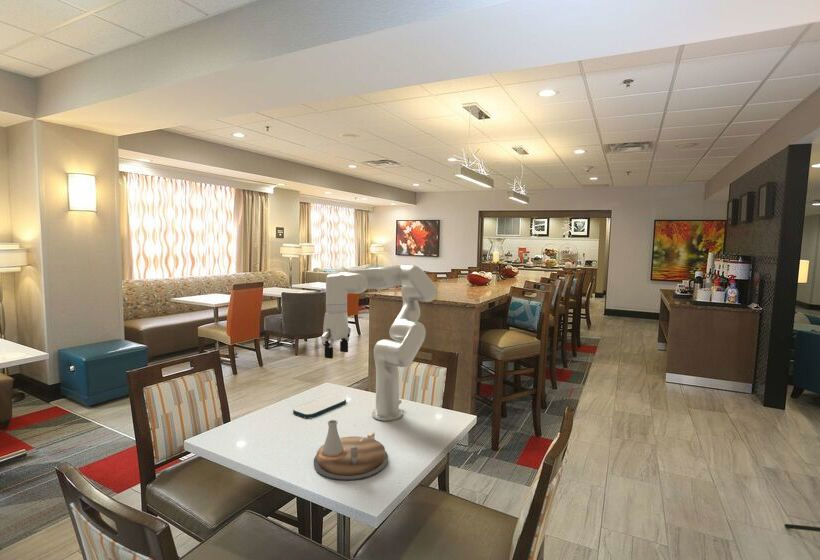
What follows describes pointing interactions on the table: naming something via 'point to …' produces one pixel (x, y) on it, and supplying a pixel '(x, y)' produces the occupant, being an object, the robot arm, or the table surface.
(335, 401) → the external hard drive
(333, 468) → the turntable
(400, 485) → the table surface
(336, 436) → the flask
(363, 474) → the base
